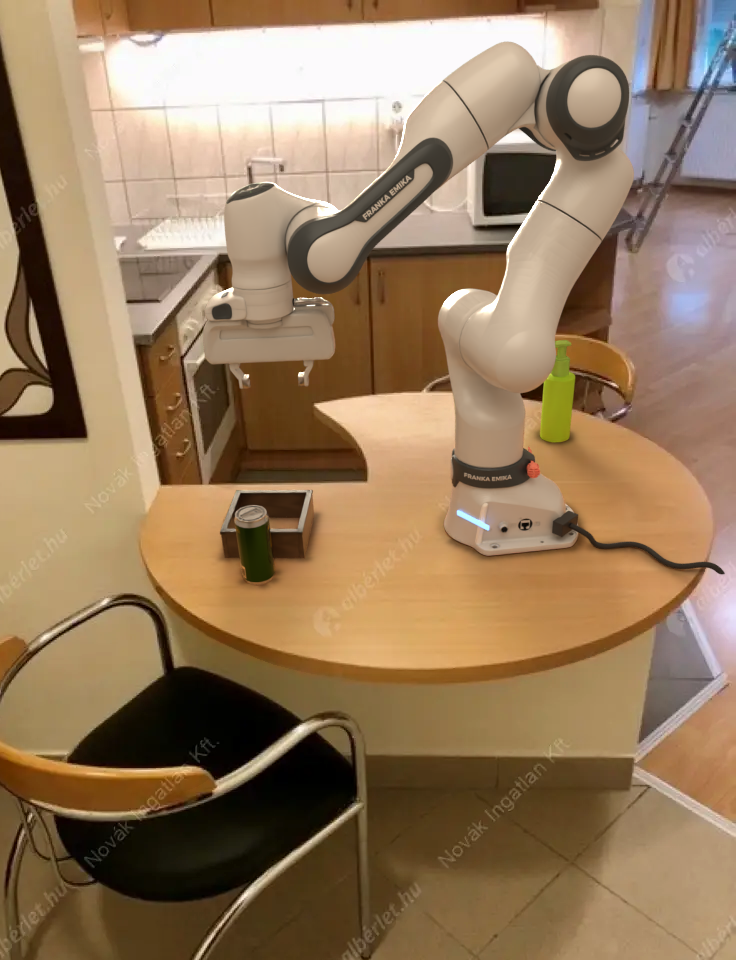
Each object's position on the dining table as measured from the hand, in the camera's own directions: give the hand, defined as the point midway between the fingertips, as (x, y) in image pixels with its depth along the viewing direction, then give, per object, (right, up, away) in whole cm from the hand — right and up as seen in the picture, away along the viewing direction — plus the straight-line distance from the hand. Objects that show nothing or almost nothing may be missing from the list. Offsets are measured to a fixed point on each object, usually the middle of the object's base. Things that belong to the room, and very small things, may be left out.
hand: (274, 386), depth 135 cm
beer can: (-3, -30, +3) cm, 31 cm away
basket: (-2, -24, +13) cm, 27 cm away
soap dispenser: (+54, -4, +39) cm, 66 cm away
